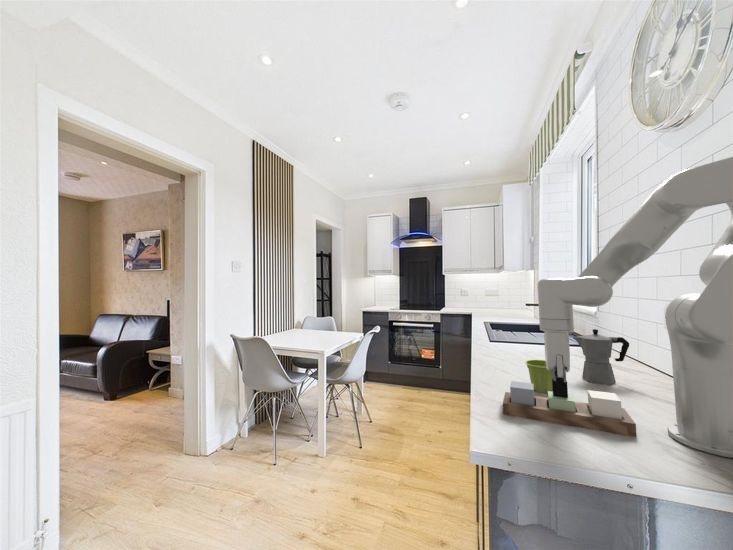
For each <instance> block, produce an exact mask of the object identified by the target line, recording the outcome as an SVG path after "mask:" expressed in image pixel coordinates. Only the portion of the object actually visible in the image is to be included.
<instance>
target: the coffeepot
mask: <svg viewBox="0 0 733 550" xmlns="http://www.w3.org/2000/svg"><path fill="white" fill-rule="evenodd" d="M592 333H593V334H587V335H580V336H579V335H578V336H574V337H572V339H573V340H575V341H576V343H578V345H579V346H580V348H581V349H582V353H583V356H584V357H585V360H584V363H583V371H582V375H581V379H583V380H584V381H585V380H586V381H585V382H588V383H591V382H592V384H597V385H603V384H611V385H615V383H616V378H615V374H614V370H613V367H612V363H611V362H610V358H611V357H612V351H613V344H619V343H621V344H622V346H621V349H620V351H619V357H618V358H614V360H615V361H616V362H623V361H624V359H625V357H626V355H627V353H628V350H629V347H630V342H629V341H628V340H626V339H625V337H619V336H617V337H616V336H615V337H614V336H604V335H601V334H599V329H596V328H594V329H592Z"/></svg>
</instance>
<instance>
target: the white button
mask: <svg viewBox="0 0 733 550" xmlns="http://www.w3.org/2000/svg"><path fill="white" fill-rule="evenodd" d="M587 403H588V406H589V411H590V414H591V415H596V416H603V417H610V418H616V419H622V408H623V407H622V401H621V399H620V398H619V397H618V395H617V394H616V392H615V393H613V392H605V391H600V390H599V391H597V390H590V389H587Z"/></svg>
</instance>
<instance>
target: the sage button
mask: <svg viewBox="0 0 733 550" xmlns="http://www.w3.org/2000/svg"><path fill="white" fill-rule="evenodd" d="M547 398H548V405H549V408H550V409H557V410H564V411H570V412H576V409H575V402H576V401H575V398H574V396H573V393H568V398H564V397H556V396H553V392H551V391H548V393H547Z"/></svg>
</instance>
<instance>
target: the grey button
mask: <svg viewBox="0 0 733 550" xmlns="http://www.w3.org/2000/svg"><path fill="white" fill-rule="evenodd" d="M510 381H511V382H510V385H509V388H510V389H509V391H510V392H509V393H511V403H518V404H524V405H531V406H535V404H534V396H535V390H534V385H533V384H532V383H531V382H521V381H516V380H510Z"/></svg>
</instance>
